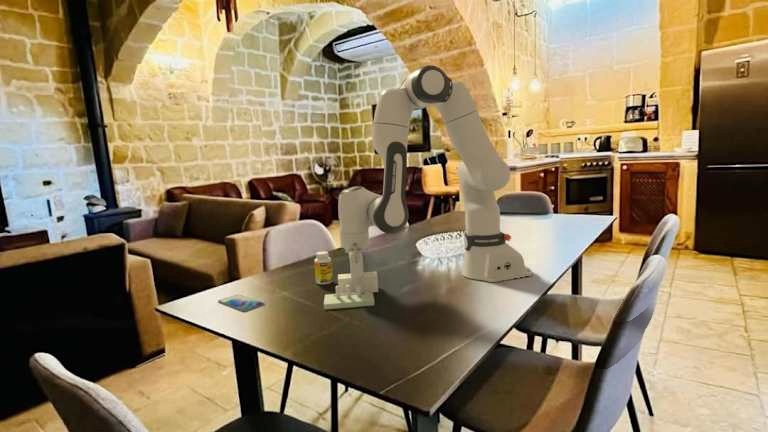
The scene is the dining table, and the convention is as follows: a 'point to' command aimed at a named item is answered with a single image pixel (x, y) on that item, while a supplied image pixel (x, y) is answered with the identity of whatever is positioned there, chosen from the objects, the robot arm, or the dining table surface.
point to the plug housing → (367, 282)
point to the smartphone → (241, 303)
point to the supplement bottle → (323, 268)
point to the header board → (348, 298)
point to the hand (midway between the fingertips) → (357, 284)
